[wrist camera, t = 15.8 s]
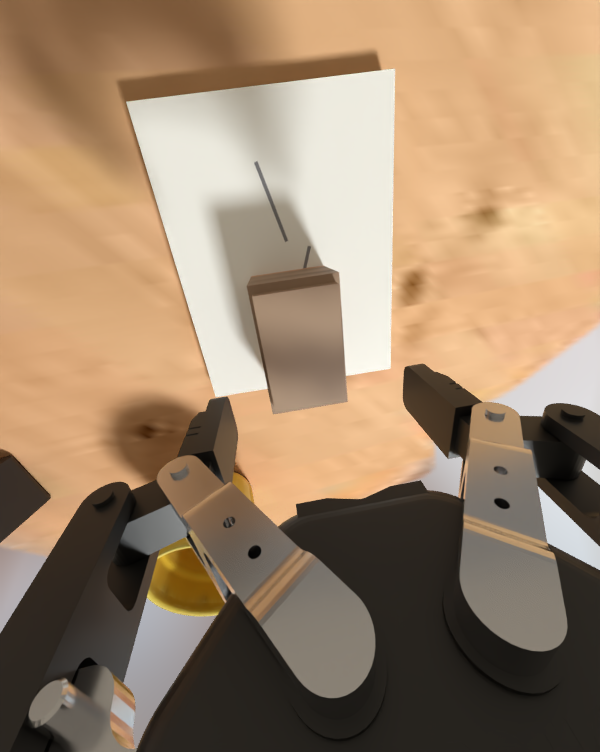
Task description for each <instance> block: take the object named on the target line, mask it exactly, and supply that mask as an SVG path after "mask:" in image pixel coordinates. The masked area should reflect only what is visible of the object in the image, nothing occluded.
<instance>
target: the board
mask: <svg viewBox="0 0 600 752" xmlns="http://www.w3.org/2000/svg"><path fill="white" fill-rule="evenodd" d="M126 103H127V107H128V110H129V113H130V116H131V120H132V123H133V126H134V130H135V133H136V136H137V139H138V143H139V146H140V149H141V153H142V156H143V159H144V162H145V166H146V169H147V172H148V176H149V179H150V182H151V185H152V189H153V192H154V195H155V199H156V202H157V205H158V208H159V212H160V215H161V218H162V222H163V225H164V228H165V231H166V235H167V238H168V241H169V245H170V248H171V251H172V255H173V258H174V261H175V264H176V268H177V271H178V274H179V278H180V281H181V284H182V287H183V291H184V294H185V297H186V301H187V304H188V307H189V310H190V314H191V317H192V320H193V324H194V327H195V330H196V333H197V337H198V340H199V343H200V347H201V350H202V353H203V356H204V360H205V363H206V366H207V370H208V373H209V376H210V379H211V383H212V386H213V389H214V393H215V396H216V397H220V396H226V395H232V394H238V393H244V392H250V391H256V390H263V389H268V387H267V382H266V378H265V373H264V368H263V363H262V358H261V353H260V349H259V344H258V339H257V334H256V329H255V324H254V320H253V315H252V310H251V305H250V300H249V295H248V291H247V284H248V282H249V280H250V278H251V276H256V275H263V274H270V273H276V272H283V271H290V270H296V269H303V268H310V267H317V266H323V265H324V266H326V267H328V268H331V269H333V270H335V271H338V272H339V277H340V292H341V308H342V323H343V339H344V355H345V370H346V376H348V375H354V374H360V373H366V372H372V371H379V370H385V369H390V364H391V299H392V234H393V169H394V105H395V69H388V70H380V71H371V72H363V73H355V74H347V75H339V76H331V77H323V78H315V79H306V80H298V81H290V82H282V83H274V84H266V85H258V86H250V87H241V88H233V89H225V90H217V91H209V92H201V93H193V94H185V95H176V96H168V97H160V98H152V99H144V100H136V101H128V102H126Z"/></svg>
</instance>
